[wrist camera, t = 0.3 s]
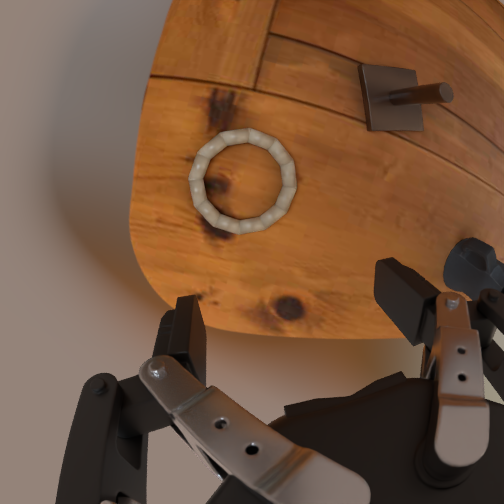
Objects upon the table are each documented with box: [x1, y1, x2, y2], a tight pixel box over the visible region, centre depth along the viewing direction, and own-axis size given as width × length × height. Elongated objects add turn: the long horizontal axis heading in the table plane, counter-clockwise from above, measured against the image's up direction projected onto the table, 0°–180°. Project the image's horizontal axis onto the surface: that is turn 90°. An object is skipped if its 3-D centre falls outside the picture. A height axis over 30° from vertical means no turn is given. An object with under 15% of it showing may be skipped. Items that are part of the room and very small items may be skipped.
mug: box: [443, 237, 504, 301], centre depth 32 cm, size 12×9×11 cm
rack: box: [358, 64, 453, 131], centre depth 23 cm, size 8×8×10 cm
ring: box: [188, 128, 297, 235], centre depth 29 cm, size 11×11×2 cm
